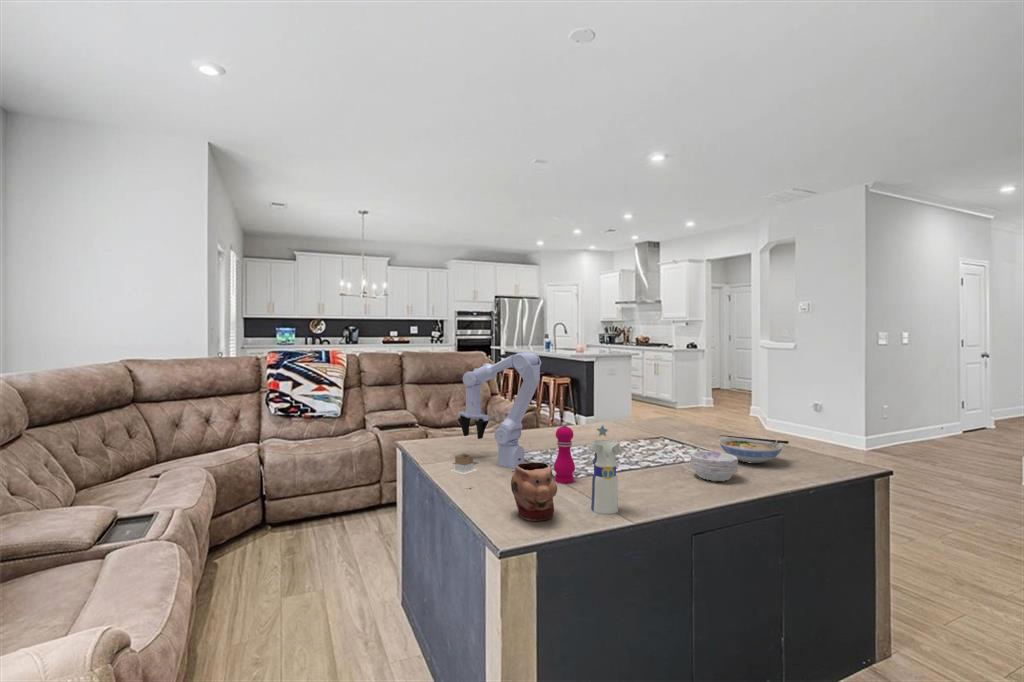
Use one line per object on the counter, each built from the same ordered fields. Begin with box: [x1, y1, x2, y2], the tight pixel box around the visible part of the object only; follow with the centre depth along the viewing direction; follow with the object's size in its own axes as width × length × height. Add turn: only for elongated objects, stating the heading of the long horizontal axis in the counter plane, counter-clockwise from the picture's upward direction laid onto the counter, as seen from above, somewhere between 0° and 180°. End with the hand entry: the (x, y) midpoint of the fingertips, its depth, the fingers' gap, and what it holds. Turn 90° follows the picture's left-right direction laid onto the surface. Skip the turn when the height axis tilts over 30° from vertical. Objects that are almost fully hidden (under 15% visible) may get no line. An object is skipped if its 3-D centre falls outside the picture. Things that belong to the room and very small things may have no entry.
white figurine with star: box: [590, 424, 622, 515], centre depth 143 cm, size 8×9×25 cm
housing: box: [454, 453, 474, 473], centre depth 178 cm, size 4×4×5 cm
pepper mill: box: [553, 421, 576, 484], centre depth 170 cm, size 7×7×20 cm
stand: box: [450, 468, 478, 475], centre depth 178 cm, size 7×7×1 cm
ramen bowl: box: [718, 434, 790, 464], centre depth 195 cm, size 25×23×8 cm
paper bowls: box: [689, 450, 739, 482], centre depth 174 cm, size 15×15×8 cm
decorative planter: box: [510, 461, 558, 522], centre depth 139 cm, size 20×12×14 cm, turn 23°
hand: (473, 437), depth 194 cm, fingers open, 7 cm apart
